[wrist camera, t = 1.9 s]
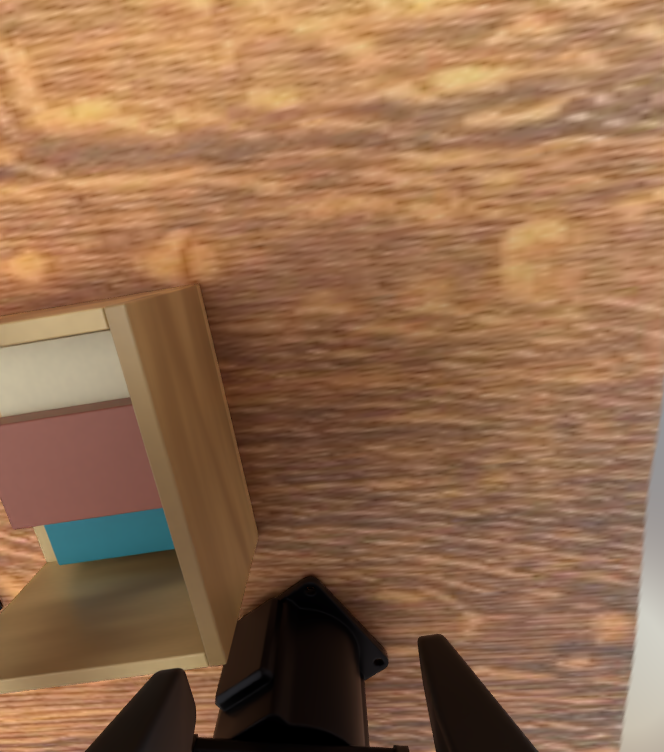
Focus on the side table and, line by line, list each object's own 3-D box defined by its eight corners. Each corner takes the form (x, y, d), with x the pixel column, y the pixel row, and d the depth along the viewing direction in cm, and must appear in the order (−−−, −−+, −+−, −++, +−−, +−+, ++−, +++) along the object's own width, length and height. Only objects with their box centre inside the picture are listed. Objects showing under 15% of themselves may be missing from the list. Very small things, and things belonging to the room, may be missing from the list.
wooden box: (199, 283, 19) (124, 303, 12) (259, 536, 22) (226, 665, 15) (-36, 322, 19) (-238, 363, 12) (57, 564, 22) (-63, 703, 15)
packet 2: (165, 391, 18) (153, 401, 17) (192, 490, 19) (183, 505, 18) (-6, 417, 18) (-29, 429, 17) (31, 513, 19) (12, 530, 18)
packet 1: (165, 317, 18) (154, 322, 17) (192, 419, 19) (183, 429, 18) (-2, 345, 19) (-24, 351, 17) (34, 443, 20) (16, 455, 19)
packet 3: (197, 440, 20) (189, 452, 19) (220, 527, 21) (213, 544, 20) (42, 464, 20) (24, 477, 19) (73, 548, 21) (58, 566, 20)
